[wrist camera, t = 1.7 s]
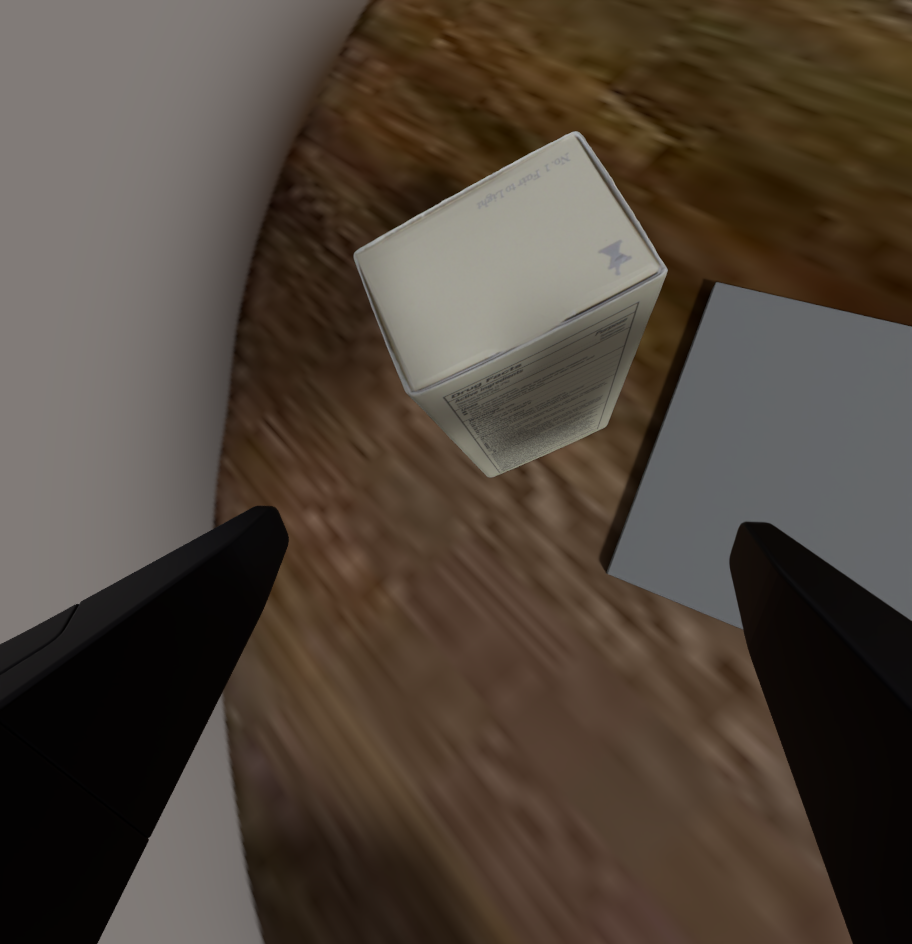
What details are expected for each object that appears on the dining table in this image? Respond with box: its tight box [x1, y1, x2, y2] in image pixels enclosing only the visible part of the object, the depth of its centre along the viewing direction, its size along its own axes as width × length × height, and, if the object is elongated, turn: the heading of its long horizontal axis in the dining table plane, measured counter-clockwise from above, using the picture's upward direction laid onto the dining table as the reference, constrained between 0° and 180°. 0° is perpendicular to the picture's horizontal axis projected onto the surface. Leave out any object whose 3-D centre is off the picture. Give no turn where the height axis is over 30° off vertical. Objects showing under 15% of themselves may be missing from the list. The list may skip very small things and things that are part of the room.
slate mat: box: [606, 282, 912, 629], centre depth 19 cm, size 14×12×1 cm
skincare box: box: [354, 131, 668, 477], centre depth 16 cm, size 6×4×12 cm
